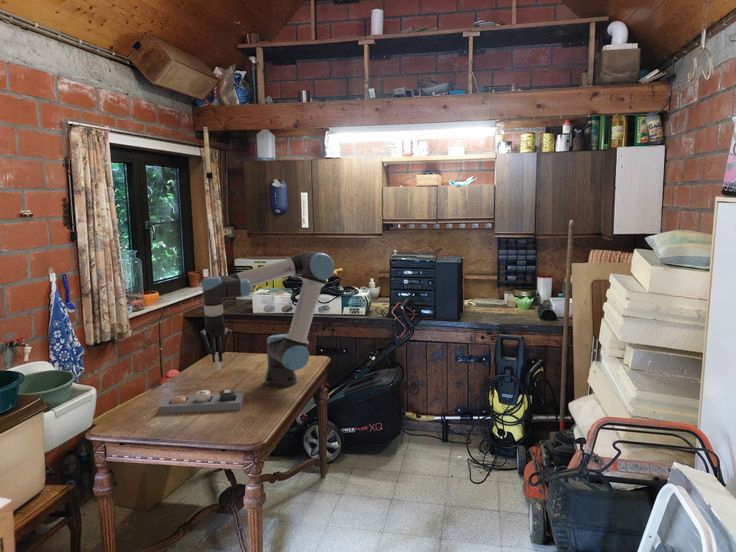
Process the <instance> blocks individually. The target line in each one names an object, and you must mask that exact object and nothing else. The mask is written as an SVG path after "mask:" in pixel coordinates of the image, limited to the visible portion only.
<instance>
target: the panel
mask: <svg viewBox="0 0 736 552" xmlns="http://www.w3.org/2000/svg"><path fill="white" fill-rule="evenodd" d="M244 394H245V393H244V392H235V400H233V401H220V393H210V395H211V400H210V401H209V402H201V403H197V402H196V394H191V395H190V394H189V395H187V394H186V395H184V396H185V397H186V403H182V404H171V399H172V398H173V397H176V396H177V395H169V396H166V398H165V399H164V401H163V402H162V404H161V405H160V407H159V409H160V415H164V414H182V413H201V412H204V413H205V412H217V411H219V412H220V411H221V412H222V411H236V410H237V411H239V410H242V406H243V403H244V400H245V398H244V397H245V395H244Z"/></svg>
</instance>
